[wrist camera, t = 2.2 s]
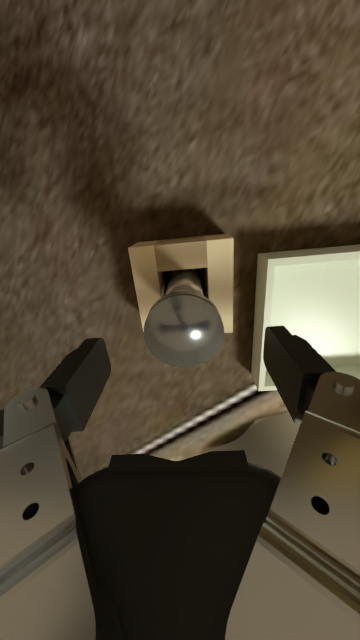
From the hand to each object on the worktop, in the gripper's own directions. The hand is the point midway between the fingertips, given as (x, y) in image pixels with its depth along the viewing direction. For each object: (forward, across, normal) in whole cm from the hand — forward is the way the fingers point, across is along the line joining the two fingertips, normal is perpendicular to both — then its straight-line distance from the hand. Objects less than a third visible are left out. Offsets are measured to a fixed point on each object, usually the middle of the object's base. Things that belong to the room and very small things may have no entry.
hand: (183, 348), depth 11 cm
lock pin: (+12, 0, 0) cm, 12 cm away
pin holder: (+12, 0, 0) cm, 12 cm away
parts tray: (+12, -14, +5) cm, 19 cm away
